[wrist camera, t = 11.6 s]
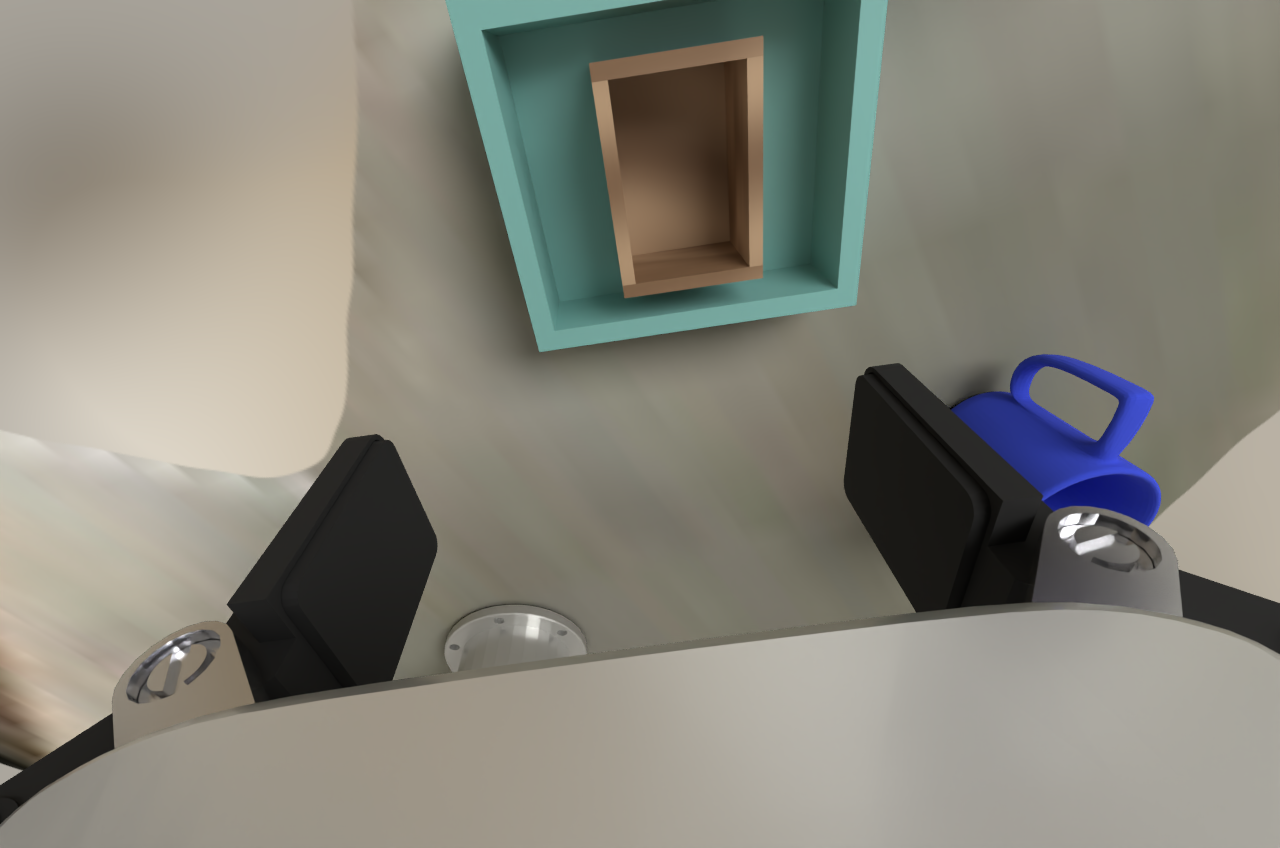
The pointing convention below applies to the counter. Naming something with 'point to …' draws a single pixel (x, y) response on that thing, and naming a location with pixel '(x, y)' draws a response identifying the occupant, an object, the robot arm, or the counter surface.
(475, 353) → the counter surface
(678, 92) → the walnut crate
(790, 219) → the teal crate
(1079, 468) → the mug
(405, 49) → the counter surface
